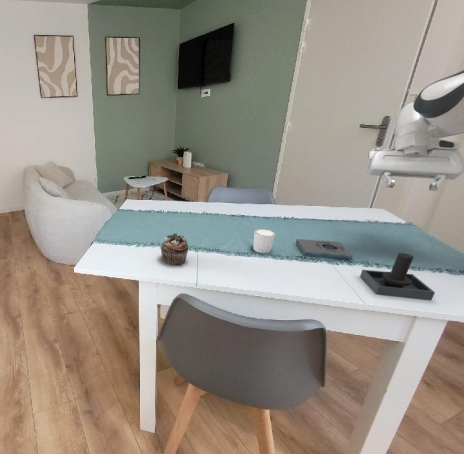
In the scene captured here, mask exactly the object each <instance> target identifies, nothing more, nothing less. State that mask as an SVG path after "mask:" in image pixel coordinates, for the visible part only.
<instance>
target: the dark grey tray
mask: <svg viewBox="0 0 464 454" xmlns="http://www.w3.org/2000/svg"><path fill="white" fill-rule="evenodd" d="M384 272H385V271H383V270H370V269H362V270H361V273H360V275H359V277H360V278H361V279H362V280H363V282H364V283H365V284H366V285H367V286H368V287H369V289H371V290H372V291H373V293H375V295H380V296H389V297H398V298H399V297H400V298H408V299H418V300H426V301H432V300H433V298H434V295H435V294H436V292H435V291H434V290H433V289H432V288H430V287H429V286H428V285H427V284H426V283H424V282H423V281H422V280H421V279H419V278H418V276H416V275H414V274H413V273H407V274H406V277H408V278H410V279H411V281H412V282H411V284H410V285H409V286H403V287H402V288H396V287H387V286H386V285H385V282H386V280H384V279H383V278H382V274H383V273H384Z"/></svg>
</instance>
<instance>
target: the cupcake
mask: <svg viewBox="0 0 464 454" xmlns="http://www.w3.org/2000/svg"><path fill="white" fill-rule="evenodd" d="M160 252H161V255H162V256H161V257H162V261H163V262H164V264H168V265H171V266H181V265H183V264H185V262H186V259H187V256H188V253H189V245H188V242H187V237H186V236H184V235H178V234H177V233H173V234H172V235H171V234H170V235H166V237H164V240H163V241H162V244H161V245H160Z"/></svg>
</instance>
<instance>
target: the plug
mask: <svg viewBox="0 0 464 454" xmlns="http://www.w3.org/2000/svg"><path fill="white" fill-rule="evenodd" d="M413 259H414V256H413V255H411V254H409V253H405V252H398V253H397V256H396V258H395V261H394V263H393V266H392V269H391V270H390V271H383V272H384V273H383V274H382V278H383V279H384V280H386V282H385V285H386V286H387V287H396V288H402V287H403V286H409V285H410V284H411V282H412V281H411V279H410V278H408V277H406V274H408V272H409V269H410V268H411V267H410V266H411V264H412V263H413Z"/></svg>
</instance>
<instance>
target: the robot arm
mask: <svg viewBox="0 0 464 454" xmlns="http://www.w3.org/2000/svg"><path fill="white" fill-rule="evenodd" d="M393 133H394V134H393V135H394V140H393V146H392V147H391V148H388V147H387V148H380V147H378V148H375V149H372V150H369V152H368V156H367V157H368V160H369V162H368V166H367V174H368V175H369V176H376V177H377V176H379V177H381V179H382V180H383V181H384V183H385V187H386V188H390V189H394V187H395V185H396V180H394V179H392V178H391V177H396V178H413V179H415V178H416V179H431V180H434V182H431V183H430V184H429V185H428V188H429V189H428V190H429V191H434V192H436V191H438V190H440V188H441V187H440V185H441V183H442V182H443V181H444V180H451V181H452V180H453V181H454V180H456V179H458V178H459V177H461V176H462V175H463V174H464V157H463V155H462V154H461V152H460V151H458V150H459V148H460V143H459V142H455V141H450V140H446V139H443V138H447V137H452V136H456V135H460V134H464V69H463V70H460V71H459V72H456V73H454V74H451V75H449V76H446V77H443V78H440V79H439V80H436V81H434V82H432V83H430V84H428V85H427V86H425V87H424V88H423V89H421V91H419V93H418V94H417V96H416V97H415V99H414V101H413V102H410V103H408V104H406V105H405V106H403V107H402V108H401V109H400V111H399V112H398V113H397V115H396V118H395V120H394V129H393ZM441 138H442V139H441Z"/></svg>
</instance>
